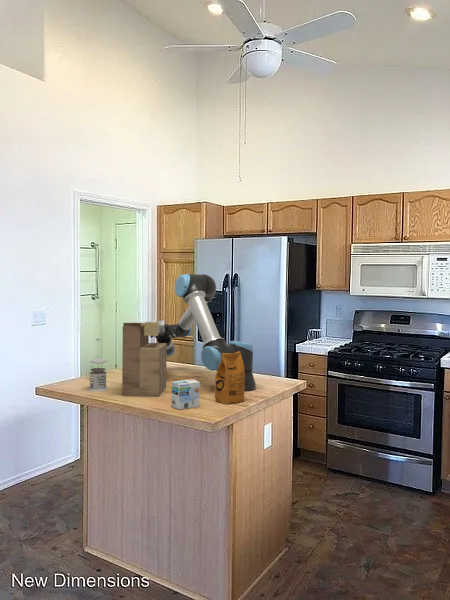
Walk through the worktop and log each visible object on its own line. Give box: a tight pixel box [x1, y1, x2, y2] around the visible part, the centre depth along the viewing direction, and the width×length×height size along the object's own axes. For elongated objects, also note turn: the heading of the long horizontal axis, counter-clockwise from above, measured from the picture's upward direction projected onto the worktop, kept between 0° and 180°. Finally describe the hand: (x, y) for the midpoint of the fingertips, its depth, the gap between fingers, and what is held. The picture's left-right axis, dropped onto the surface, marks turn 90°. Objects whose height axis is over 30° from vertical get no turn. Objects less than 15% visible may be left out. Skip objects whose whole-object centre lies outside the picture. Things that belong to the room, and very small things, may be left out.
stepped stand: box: [121, 322, 167, 398], centre depth 247 cm, size 20×17×34 cm
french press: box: [85, 337, 109, 392], centre depth 250 cm, size 10×12×25 cm
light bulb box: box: [171, 378, 201, 410], centre depth 221 cm, size 11×7×11 cm, turn 126°
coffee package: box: [214, 351, 245, 405], centre depth 231 cm, size 10×12×22 cm
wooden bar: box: [143, 320, 166, 337], centre depth 254 cm, size 28×6×6 cm, turn 177°
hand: (158, 322), depth 258 cm, fingers closed on wooden bar, 4 cm apart
